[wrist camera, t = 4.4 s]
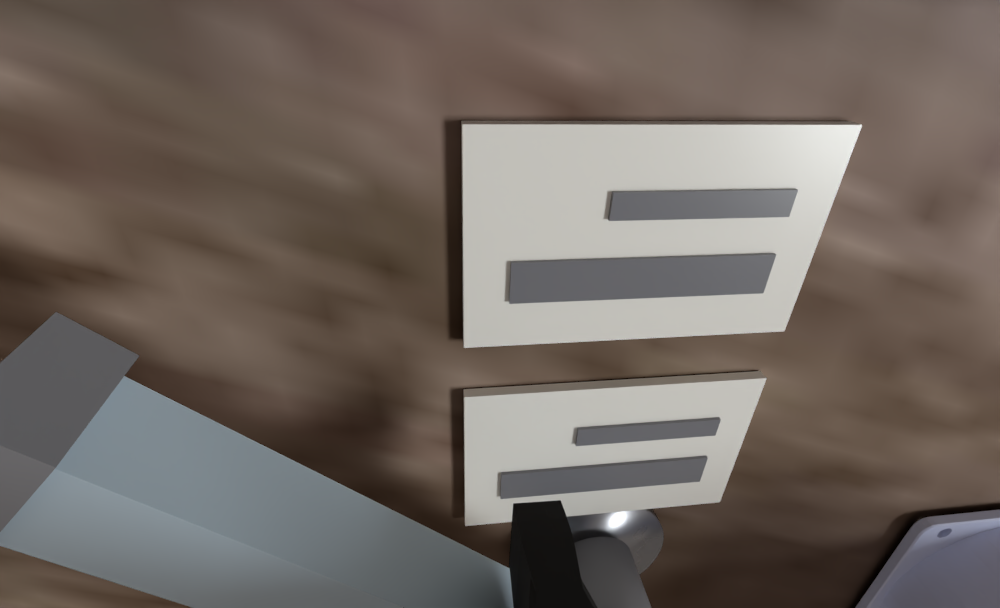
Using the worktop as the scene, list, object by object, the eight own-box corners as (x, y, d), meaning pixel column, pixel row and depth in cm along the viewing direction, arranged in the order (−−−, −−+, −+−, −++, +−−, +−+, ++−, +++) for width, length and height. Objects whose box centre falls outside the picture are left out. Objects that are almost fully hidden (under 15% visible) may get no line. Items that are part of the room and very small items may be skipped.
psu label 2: (760, 370, 14) (768, 380, 14) (715, 494, 17) (721, 505, 16) (463, 389, 13) (464, 400, 13) (464, 517, 16) (465, 528, 15)
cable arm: (646, 556, 17) (713, 726, 13) (585, 594, 18) (631, 766, 14) (135, 237, 10) (-60, 415, 6) (67, 327, 10) (-148, 539, 6)
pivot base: (674, 488, 16) (677, 495, 16) (645, 581, 19) (648, 589, 19) (514, 502, 16) (516, 510, 15) (508, 596, 18) (509, 605, 18)
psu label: (851, 121, 11) (865, 126, 10) (777, 324, 13) (786, 333, 13) (461, 120, 10) (462, 125, 9) (463, 340, 12) (464, 350, 12)
